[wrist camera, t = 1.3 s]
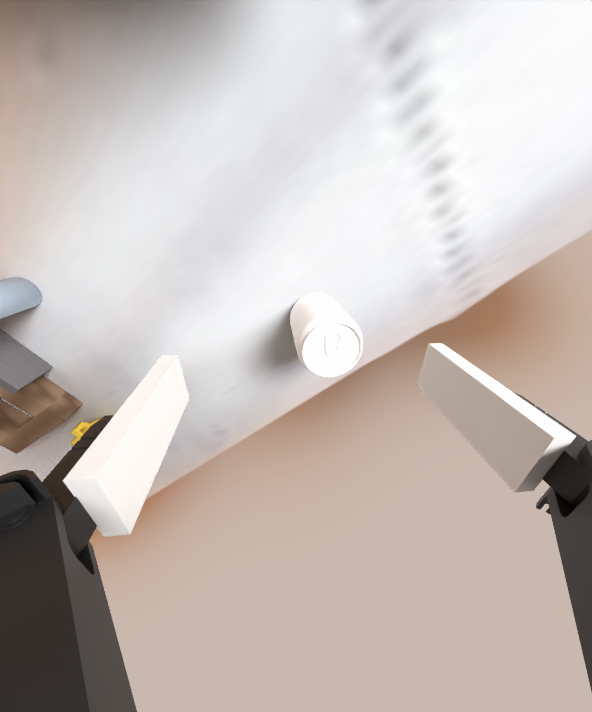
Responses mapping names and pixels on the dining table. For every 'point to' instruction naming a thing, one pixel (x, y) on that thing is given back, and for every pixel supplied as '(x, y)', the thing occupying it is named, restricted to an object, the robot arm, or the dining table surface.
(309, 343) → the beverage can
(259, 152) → the dining table surface
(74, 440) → the teapot
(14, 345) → the rail
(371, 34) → the dining table surface
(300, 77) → the dining table surface
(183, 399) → the robot arm
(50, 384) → the socket block
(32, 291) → the peg
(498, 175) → the dining table surface
